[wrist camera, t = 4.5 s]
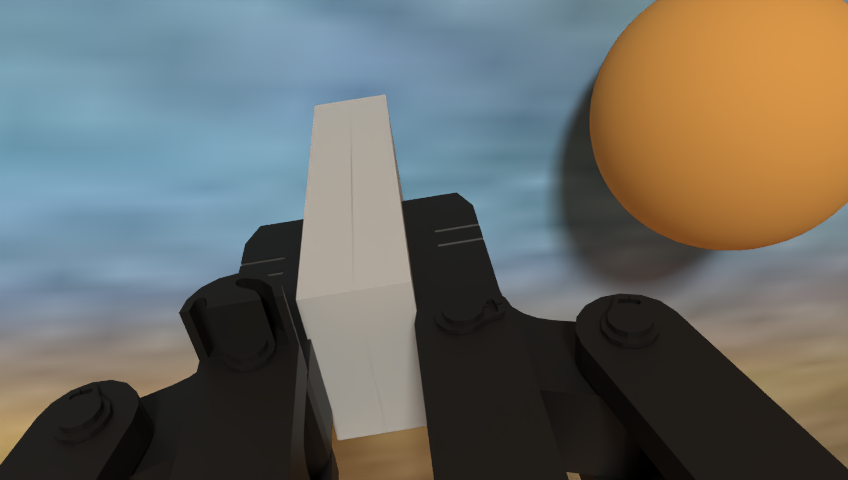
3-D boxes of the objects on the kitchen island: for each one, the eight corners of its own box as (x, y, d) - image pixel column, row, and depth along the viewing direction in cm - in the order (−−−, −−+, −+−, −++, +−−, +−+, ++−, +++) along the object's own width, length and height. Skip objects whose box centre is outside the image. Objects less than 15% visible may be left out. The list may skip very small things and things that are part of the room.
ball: (809, -72, 15) (1023, -10, 10) (766, 156, 18) (915, 282, 13) (558, -35, 14) (659, 43, 10) (559, 187, 18) (636, 326, 13)
